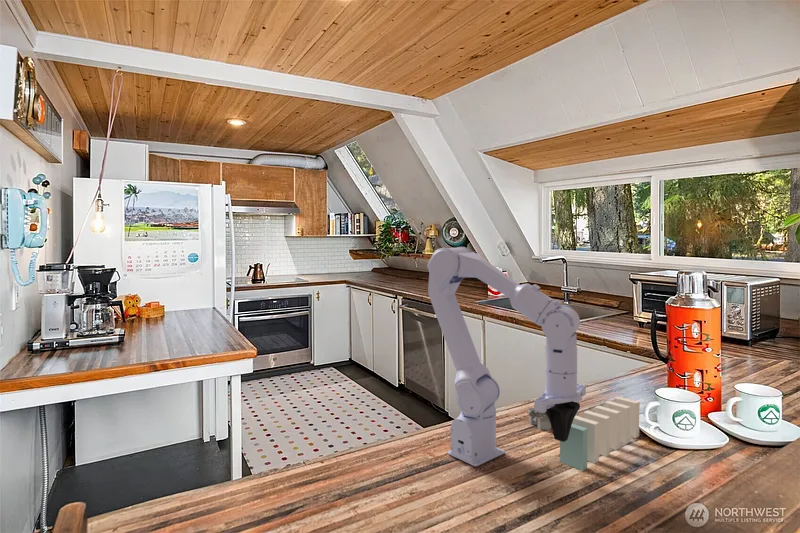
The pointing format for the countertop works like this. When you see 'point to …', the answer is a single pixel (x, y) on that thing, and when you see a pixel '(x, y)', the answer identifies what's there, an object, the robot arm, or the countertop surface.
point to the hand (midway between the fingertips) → (560, 439)
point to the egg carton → (539, 419)
